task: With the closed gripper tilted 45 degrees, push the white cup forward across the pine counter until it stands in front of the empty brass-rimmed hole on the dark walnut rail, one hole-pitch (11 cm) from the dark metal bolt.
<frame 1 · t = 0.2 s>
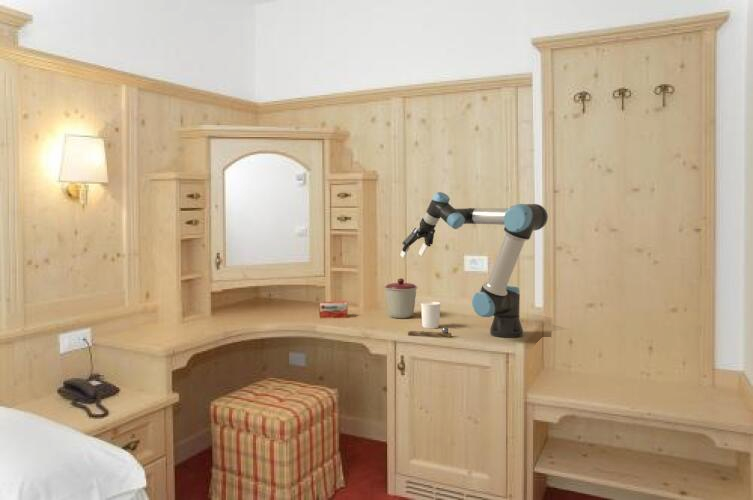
hand: (411, 255, 316), 35 cm above the table, tool tilted 35°, fingers open, 13 cm apart
white cup: (430, 327, 313), on the table
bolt: (445, 336, 291), resting on hole rail
hole rail: (422, 335, 294), on the table
canister: (401, 317, 341), on the table
medicine box: (333, 317, 344), on the table
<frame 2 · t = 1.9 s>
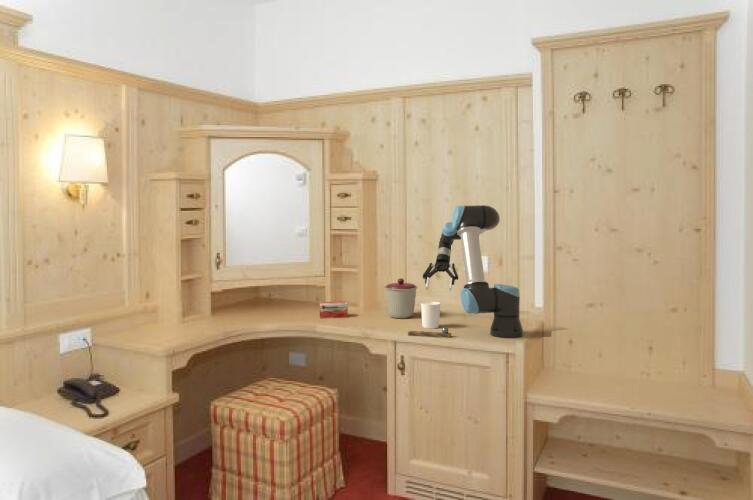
hand: (438, 288, 333), 16 cm above the table, tool tilted 45°, fingers open, 12 cm apart
nothing on the table moved.
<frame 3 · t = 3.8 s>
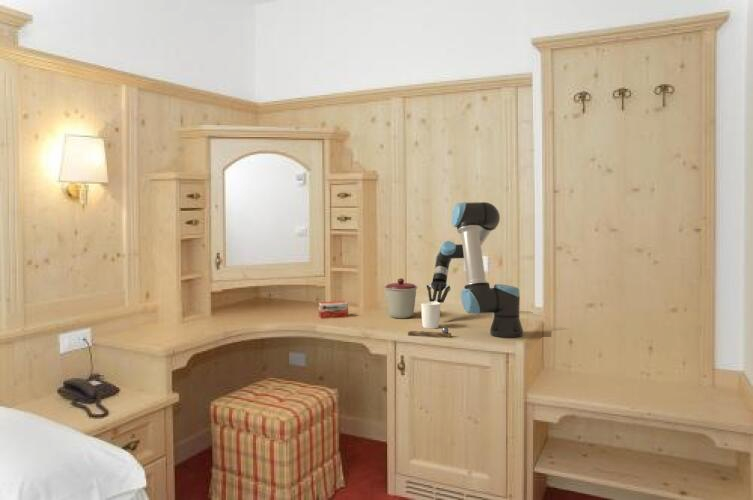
hand: (434, 312, 323), 5 cm above the table, tool tilted 45°, fingers closed
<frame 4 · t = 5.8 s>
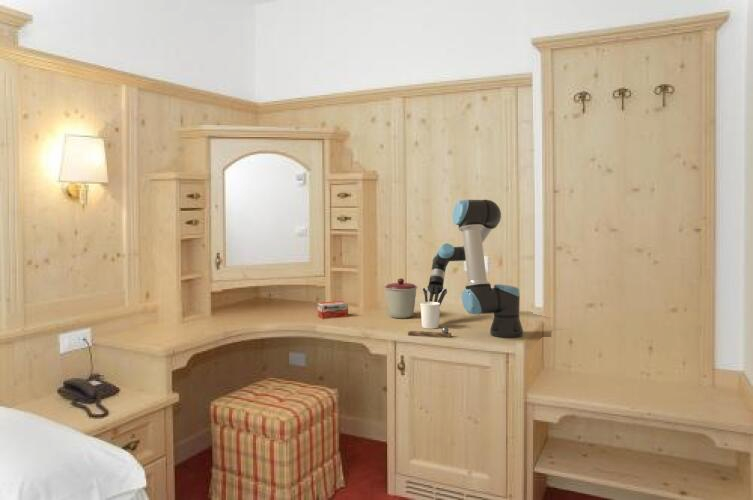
hand: (430, 316, 317), 5 cm above the table, tool tilted 45°, fingers closed
white cup: (430, 327, 313), on the table, touching gripper
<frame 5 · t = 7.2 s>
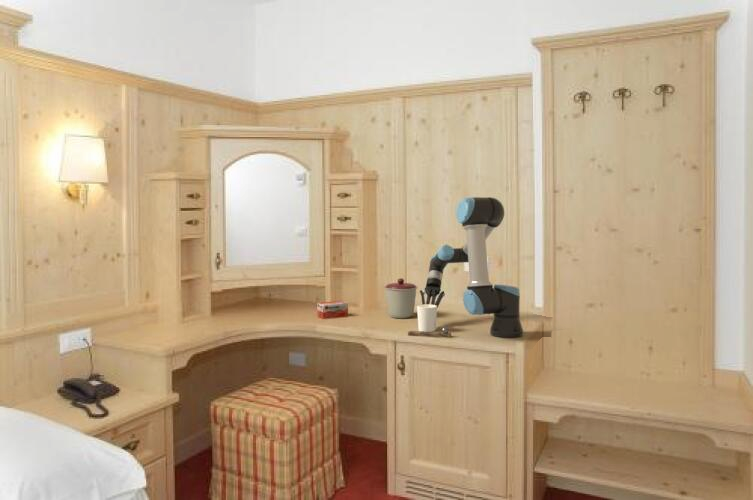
hand: (427, 319, 309), 5 cm above the table, tool tilted 45°, fingers closed
white cup: (427, 330, 305), on the table, touching gripper
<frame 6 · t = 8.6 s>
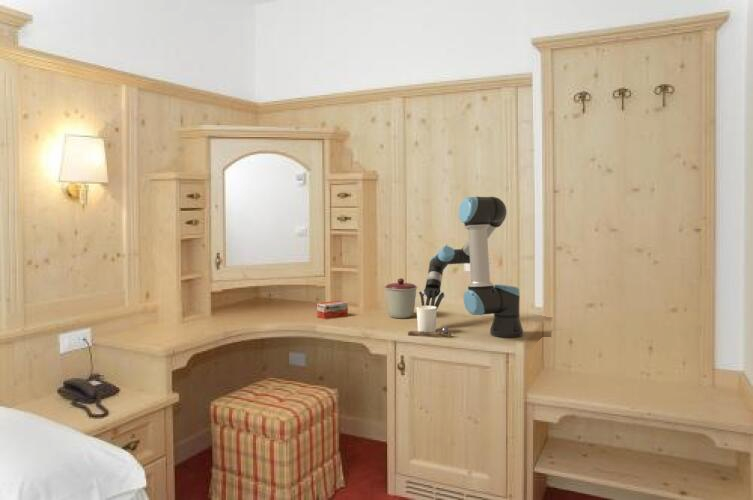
hand: (427, 320, 305), 5 cm above the table, tool tilted 45°, fingers closed
white cup: (426, 332, 301), on the table, touching gripper
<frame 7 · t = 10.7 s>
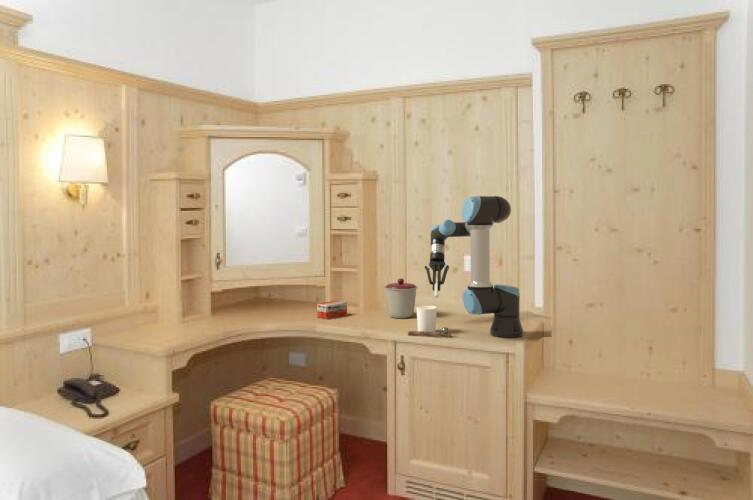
hand: (436, 296, 318), 14 cm above the table, tool tilted 30°, fingers closed
white cup: (426, 332, 301), on the table
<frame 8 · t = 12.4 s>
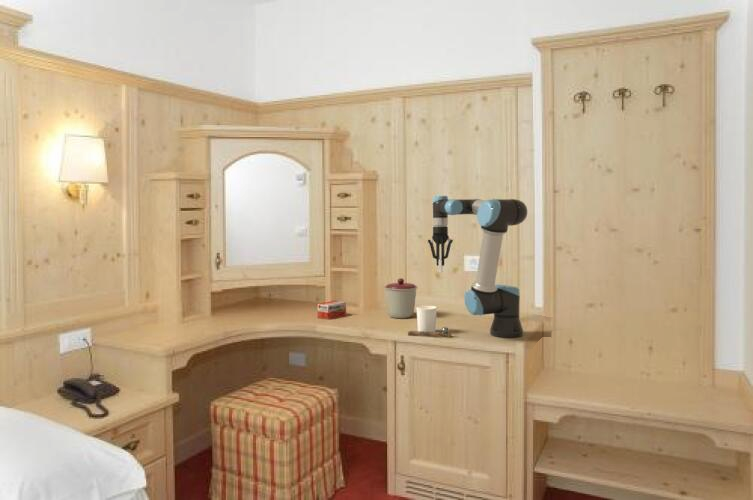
hand: (440, 272, 321), 26 cm above the table, tool pointing down, fingers closed
at the end: white cup 0.6 cm from the target spot on the table beside the hole rail, on the table; white cup tilted 0°; white cup moved 12.5 cm from its start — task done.
